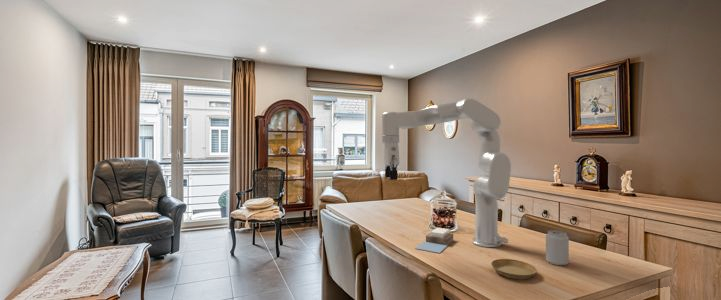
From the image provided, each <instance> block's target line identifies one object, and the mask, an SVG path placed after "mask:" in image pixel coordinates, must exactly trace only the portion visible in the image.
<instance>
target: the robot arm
mask: <svg viewBox="0 0 721 300" xmlns="http://www.w3.org/2000/svg"><path fill="white" fill-rule="evenodd" d="M381 118H382V119H381V121H382V122H381V123H382V124H381V126H382V127H381V133H382V135H381V138H382V141H381V142H382V144H384V149H383V150H384V151H383V153H384V154H383V157H384V158H383V160H384V161H383V162H384V164H385V166H384V177H385V178H389V180H390V181H396V180H398V167H399V166H400V151H399V150H400V147H399V144H400V129H402V130H407V129H408V130H409V129H412V128H417V127H423V126H431V125H432V126H433V125H440V124H443V123H450V122H453V121H460V120H465V119H470V122H469V124H470V125H469V126H470V127H471V129H472V130H473V131H474V132H475V133H476V134H477V136H478V137H479V141H480V147H479V156H478V168H479V169H480V170H481V171H482V172H484V173H488V175H487V174H483V175H479V176H477V177H476V178H475V180H474V182H473V192H474V198H475V199H474V201H475V237H473V238H471V242H472V243H473V244H474V245H476V246H479V247H483V248H484V247H485V248H498V247H499V248H500V247H501V246H502V243H505V244H508V243H509V239H508V238H507V237H502V236H501V235H500V233H499V232H498V228H499V227H498V226H499V225H498V221H499V220H498V214H499V213H498V212H499V211H498V209H499V207H498V200H501V199H503V198H504V197H506V196H507V194H508V192H509V190H510V188H509V187H510V180H511V170H512V169H511V168H512V164H511V160H510V157H509V156H508V155H507V154H505V153H504V152H501V137H500V134H499V133H498V131H497V130H498V129H499V128H500V126H501V122H502V121H501V117H500V116H499V114H497V112H496V111H494V110H493V109H491V108H489V107H488V106H487V105H485V104H483V103H481V102H480V101H478V100H477V99H474V98H471V97H468V98H465V99H460V100H455V101H451V102H445V103H440V104H435V105H431V106H429V107H426V108H423V109H419V110H414V111H409V110H407V111H400V112H399V111H398V112H397V111H386V112H383V113H382V116H381Z"/></svg>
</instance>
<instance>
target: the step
mask: <svg viewBox="0 0 721 300" xmlns="http://www.w3.org/2000/svg"><path fill="white" fill-rule="evenodd" d="M453 241H454V233H450V232H449V234H448V235H446V236H445V237H444V238H440V237H433V236H431V232H430V233H428V234H426V235H425V242H430V243H436V244H442V245H450V244H451V243H452V242H453Z"/></svg>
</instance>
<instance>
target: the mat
mask: <svg viewBox="0 0 721 300" xmlns="http://www.w3.org/2000/svg"><path fill="white" fill-rule="evenodd" d="M448 245H449V244H448ZM448 245H442V244H436V243H430V242H426V241H423V242H422V243H420V244H419V245H418V246H416V247H415V248H414V249H415V250H418V251H422V252H423V251H425V252H430V253H434V254H441V253H442V252H443V251H444V250H445V249H446V248H447V247H448Z"/></svg>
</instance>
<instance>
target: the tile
mask: <svg viewBox="0 0 721 300" xmlns="http://www.w3.org/2000/svg"><path fill="white" fill-rule="evenodd" d="M430 233H431V236H433V237H440V238H444V237H445V236H446V235H448V234H449V233H450V229H449V228H444V227H443V228H442V227H436V228H434V229H433V230H431V231H430Z"/></svg>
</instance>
